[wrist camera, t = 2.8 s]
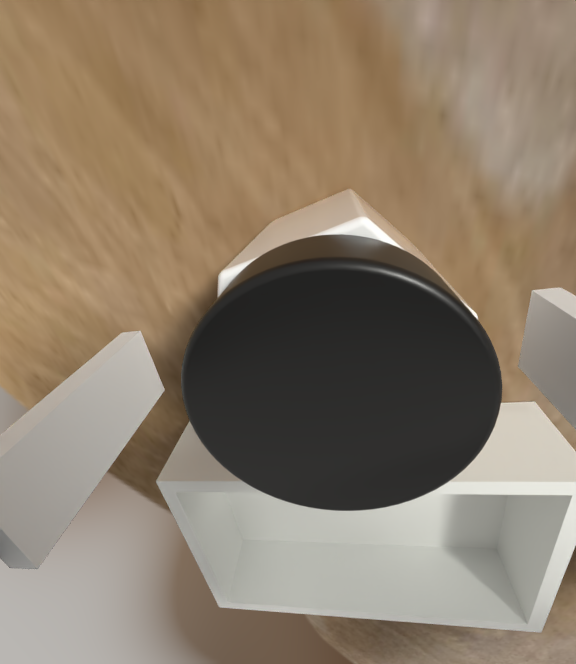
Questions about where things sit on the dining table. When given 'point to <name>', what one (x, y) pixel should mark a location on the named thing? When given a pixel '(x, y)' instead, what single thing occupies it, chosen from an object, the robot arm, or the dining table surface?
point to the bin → (393, 537)
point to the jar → (340, 364)
